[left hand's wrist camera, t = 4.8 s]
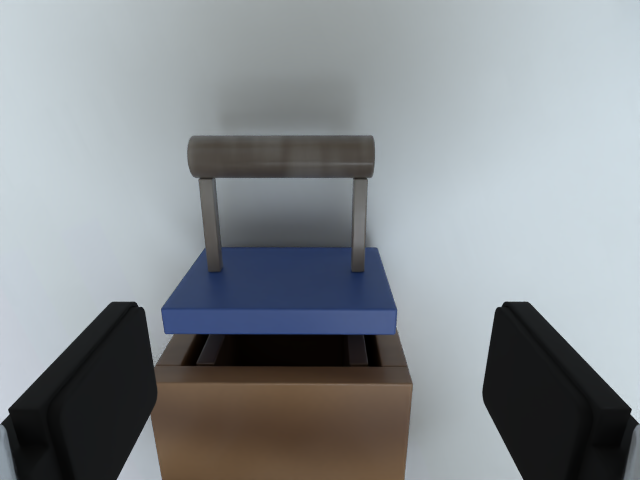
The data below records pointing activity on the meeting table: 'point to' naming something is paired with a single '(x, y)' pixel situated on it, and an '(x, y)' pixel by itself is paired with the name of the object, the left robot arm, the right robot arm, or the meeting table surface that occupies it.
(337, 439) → the cabinet
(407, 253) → the meeting table surface
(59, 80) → the meeting table surface
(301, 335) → the drawer
